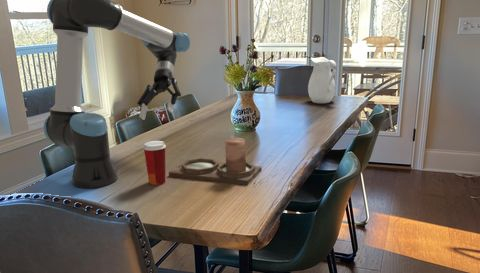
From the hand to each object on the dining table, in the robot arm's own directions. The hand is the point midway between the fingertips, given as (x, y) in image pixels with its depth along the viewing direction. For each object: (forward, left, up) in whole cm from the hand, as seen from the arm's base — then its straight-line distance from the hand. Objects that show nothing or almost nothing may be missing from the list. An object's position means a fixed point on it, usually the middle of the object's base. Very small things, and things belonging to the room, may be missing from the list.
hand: (155, 114), depth 178 cm
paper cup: (-26, -15, -18) cm, 35 cm away
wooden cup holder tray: (-12, -31, -18) cm, 37 cm away
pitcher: (+127, -45, -18) cm, 136 cm away
